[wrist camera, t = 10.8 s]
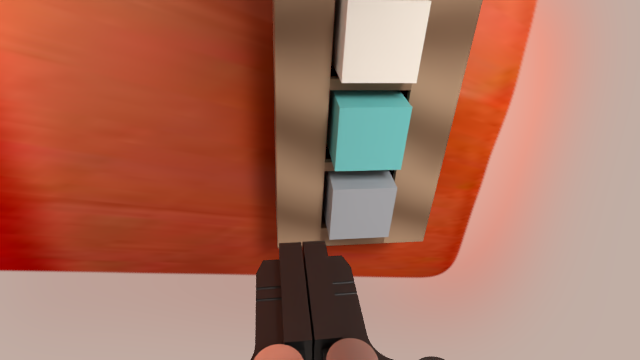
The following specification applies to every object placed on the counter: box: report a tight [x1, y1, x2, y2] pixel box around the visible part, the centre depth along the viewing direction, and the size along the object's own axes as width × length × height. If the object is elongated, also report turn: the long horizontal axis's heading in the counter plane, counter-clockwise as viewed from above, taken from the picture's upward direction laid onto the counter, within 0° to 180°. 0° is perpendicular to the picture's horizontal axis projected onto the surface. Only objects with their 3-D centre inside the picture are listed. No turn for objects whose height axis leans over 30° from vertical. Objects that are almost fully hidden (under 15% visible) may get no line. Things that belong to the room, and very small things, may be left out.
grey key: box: [323, 170, 397, 240], centre depth 31 cm, size 4×4×4 cm
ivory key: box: [332, 0, 431, 83], centre depth 24 cm, size 4×4×4 cm
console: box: [272, 0, 483, 248], centre depth 29 cm, size 21×12×5 cm, turn 177°
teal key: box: [327, 90, 412, 171], centre depth 27 cm, size 4×4×4 cm
